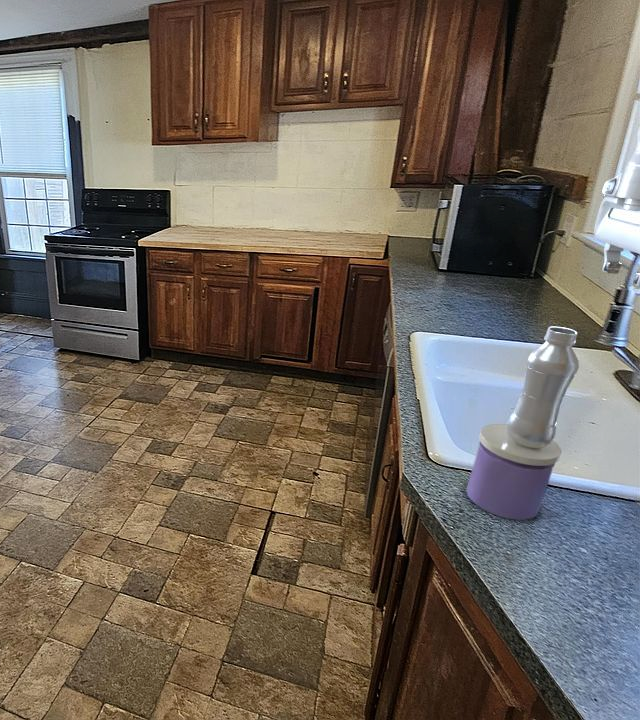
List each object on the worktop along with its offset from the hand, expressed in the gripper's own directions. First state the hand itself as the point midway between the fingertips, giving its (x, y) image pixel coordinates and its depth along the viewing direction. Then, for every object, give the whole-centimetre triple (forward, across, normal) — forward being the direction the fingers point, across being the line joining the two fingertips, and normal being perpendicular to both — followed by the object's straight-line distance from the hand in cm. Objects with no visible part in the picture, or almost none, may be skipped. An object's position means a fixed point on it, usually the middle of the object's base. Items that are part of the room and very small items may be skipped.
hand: (625, 279), depth 83 cm
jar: (+39, -7, +10) cm, 41 cm away
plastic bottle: (+27, -8, +10) cm, 30 cm away
